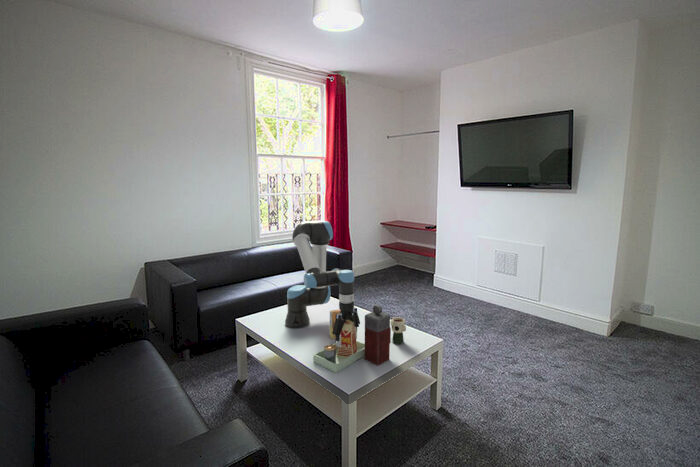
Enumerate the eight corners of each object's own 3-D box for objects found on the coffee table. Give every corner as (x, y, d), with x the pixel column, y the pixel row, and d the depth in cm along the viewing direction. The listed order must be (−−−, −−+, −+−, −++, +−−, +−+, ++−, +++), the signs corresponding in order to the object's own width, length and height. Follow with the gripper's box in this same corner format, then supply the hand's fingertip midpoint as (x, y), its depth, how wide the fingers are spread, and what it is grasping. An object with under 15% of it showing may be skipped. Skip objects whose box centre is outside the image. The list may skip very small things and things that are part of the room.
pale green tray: (313, 362, 169) (313, 354, 168) (347, 344, 187) (347, 337, 187) (336, 373, 159) (336, 364, 158) (369, 352, 178) (369, 345, 177)
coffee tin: (322, 363, 166) (322, 347, 165) (330, 358, 171) (330, 343, 169) (330, 367, 163) (330, 351, 162) (338, 362, 167) (338, 346, 166)
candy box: (343, 333, 201) (343, 308, 199) (346, 336, 197) (346, 310, 195) (329, 336, 197) (329, 310, 195) (332, 339, 193) (332, 313, 191)
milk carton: (354, 359, 170) (354, 320, 168) (336, 356, 172) (336, 318, 170) (357, 350, 179) (357, 313, 176) (340, 348, 181) (340, 312, 178)
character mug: (386, 340, 192) (386, 318, 190) (395, 336, 196) (395, 315, 194) (400, 347, 183) (401, 324, 181) (409, 343, 188) (410, 321, 186)
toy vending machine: (392, 357, 173) (393, 304, 169) (377, 365, 165) (378, 310, 161) (379, 351, 179) (379, 299, 175) (364, 359, 171) (364, 305, 167)
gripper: (335, 309, 160) (336, 353, 163) (367, 296, 178) (366, 336, 181) (324, 305, 165) (324, 348, 168) (356, 293, 183) (356, 332, 186)
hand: (346, 342), depth 175 cm, fingers open, 11 cm apart
